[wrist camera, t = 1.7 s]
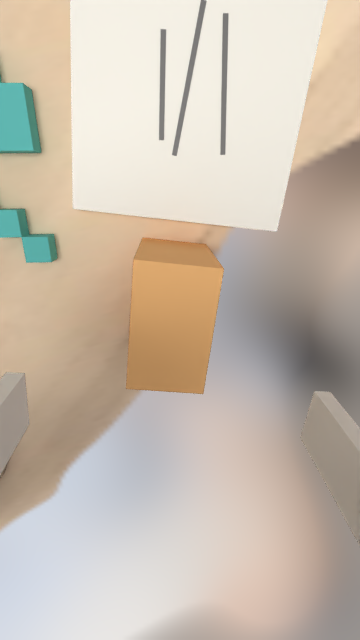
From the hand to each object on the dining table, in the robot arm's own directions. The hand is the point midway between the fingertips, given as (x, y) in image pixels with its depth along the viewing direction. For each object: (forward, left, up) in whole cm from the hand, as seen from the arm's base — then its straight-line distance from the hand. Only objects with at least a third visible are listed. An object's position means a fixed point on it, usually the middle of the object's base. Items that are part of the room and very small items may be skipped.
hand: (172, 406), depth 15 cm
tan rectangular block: (0, 0, -19) cm, 19 cm away
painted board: (+21, 0, -19) cm, 28 cm away
